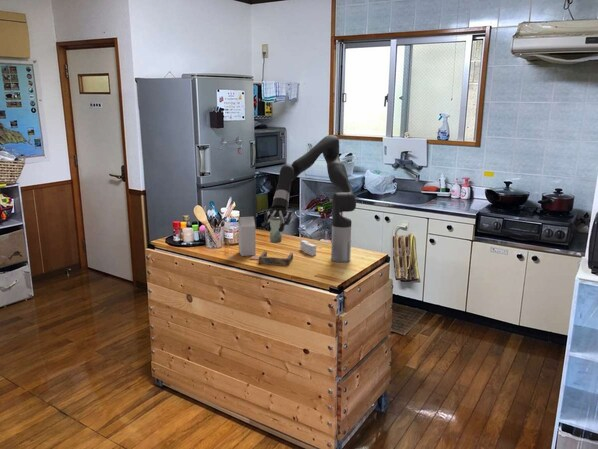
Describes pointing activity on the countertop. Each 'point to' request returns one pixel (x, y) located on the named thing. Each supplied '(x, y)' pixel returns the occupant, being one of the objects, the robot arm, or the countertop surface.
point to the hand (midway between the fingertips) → (274, 230)
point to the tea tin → (275, 229)
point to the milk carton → (247, 236)
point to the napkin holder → (308, 247)
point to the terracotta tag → (255, 257)
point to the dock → (275, 259)
